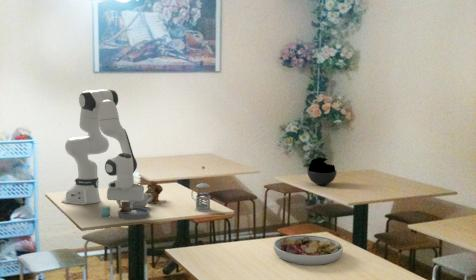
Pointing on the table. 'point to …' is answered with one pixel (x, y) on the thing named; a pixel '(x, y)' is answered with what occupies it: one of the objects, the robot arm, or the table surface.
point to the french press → (202, 198)
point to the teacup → (142, 203)
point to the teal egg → (105, 211)
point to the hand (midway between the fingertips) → (125, 208)
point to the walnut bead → (125, 206)
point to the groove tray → (134, 213)
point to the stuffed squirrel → (153, 191)
